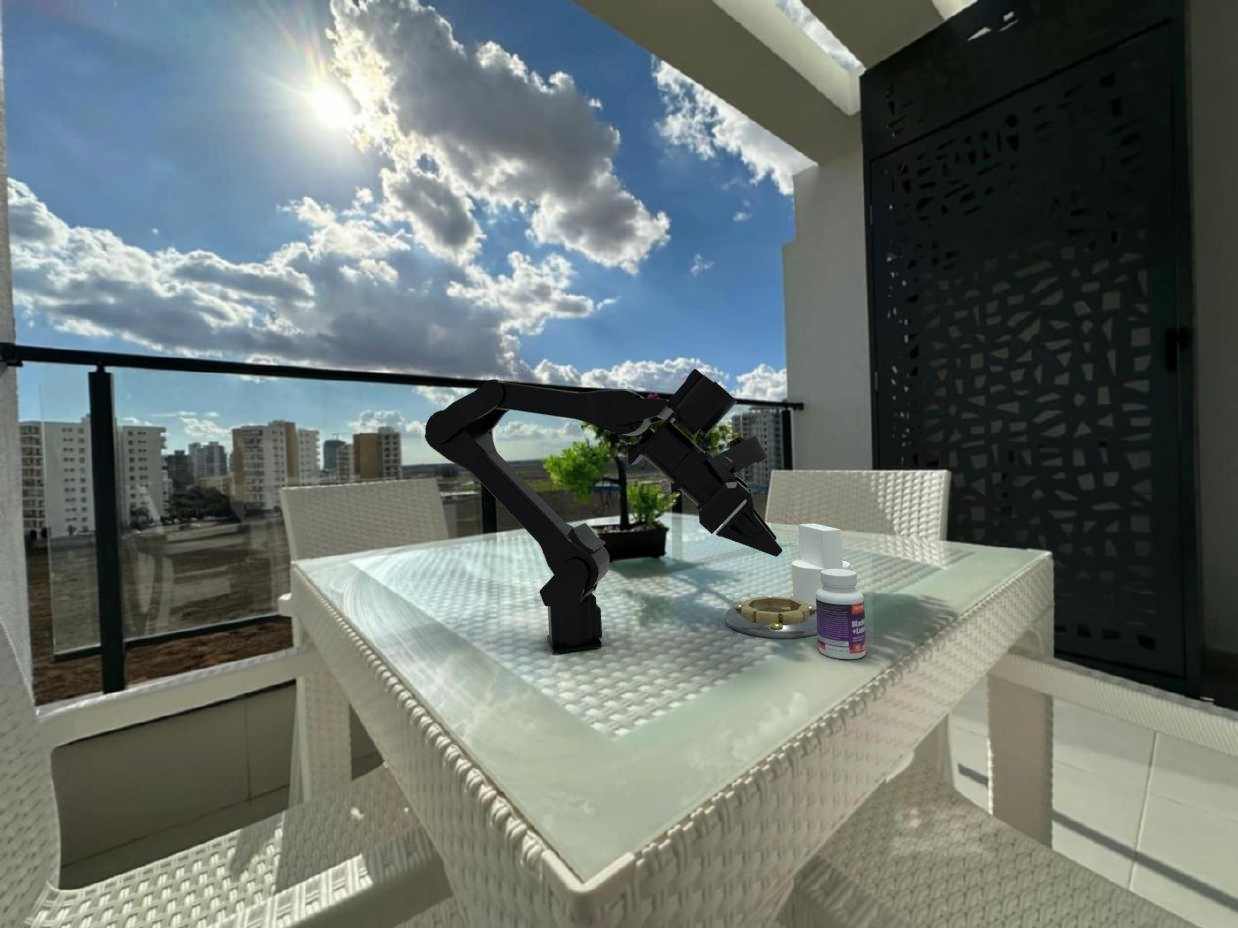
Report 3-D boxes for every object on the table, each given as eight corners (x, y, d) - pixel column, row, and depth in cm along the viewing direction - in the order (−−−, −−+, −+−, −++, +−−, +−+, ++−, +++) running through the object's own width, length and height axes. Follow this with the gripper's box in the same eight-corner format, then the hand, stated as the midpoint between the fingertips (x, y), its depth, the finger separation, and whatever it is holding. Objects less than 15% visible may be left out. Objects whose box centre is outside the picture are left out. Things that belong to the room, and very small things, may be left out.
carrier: (757, 644, 66) (756, 625, 66) (710, 615, 80) (709, 598, 80) (849, 630, 70) (849, 611, 70) (790, 603, 84) (789, 588, 84)
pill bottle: (863, 663, 59) (859, 578, 59) (814, 656, 62) (810, 574, 62) (869, 647, 64) (865, 568, 64) (823, 641, 67) (819, 565, 66)
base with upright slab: (784, 595, 89) (780, 525, 89) (833, 591, 90) (830, 522, 90) (808, 609, 80) (805, 532, 80) (863, 604, 81) (860, 528, 81)
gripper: (723, 408, 56) (837, 506, 54) (727, 419, 75) (812, 493, 72) (655, 484, 58) (763, 582, 56) (675, 477, 76) (757, 551, 74)
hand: (776, 546), depth 64 cm, fingers open, 9 cm apart
